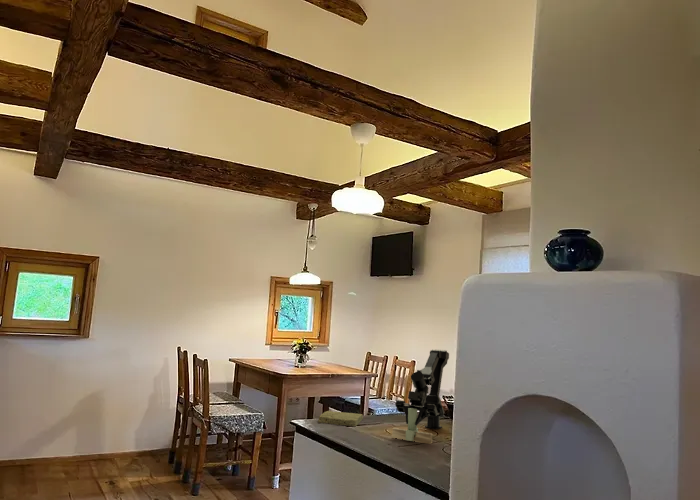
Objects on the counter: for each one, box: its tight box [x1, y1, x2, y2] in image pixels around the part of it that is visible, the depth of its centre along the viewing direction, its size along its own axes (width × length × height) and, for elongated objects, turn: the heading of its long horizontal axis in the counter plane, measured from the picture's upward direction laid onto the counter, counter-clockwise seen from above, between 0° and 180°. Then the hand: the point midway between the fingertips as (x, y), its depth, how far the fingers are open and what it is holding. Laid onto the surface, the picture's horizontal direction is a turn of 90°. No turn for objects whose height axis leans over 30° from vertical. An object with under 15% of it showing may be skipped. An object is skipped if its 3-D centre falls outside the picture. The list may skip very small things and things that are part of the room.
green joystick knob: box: [405, 408, 419, 442], centre depth 238 cm, size 8×4×13 cm, turn 153°
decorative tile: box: [317, 410, 364, 427], centre depth 271 cm, size 19×20×4 cm
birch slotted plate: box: [391, 427, 433, 445], centre depth 237 cm, size 2×18×4 cm, turn 64°
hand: (411, 424), depth 237 cm, fingers closed on green joystick knob, 4 cm apart
